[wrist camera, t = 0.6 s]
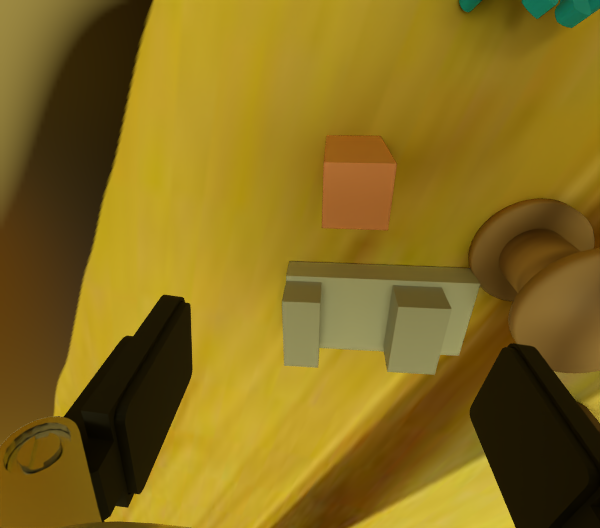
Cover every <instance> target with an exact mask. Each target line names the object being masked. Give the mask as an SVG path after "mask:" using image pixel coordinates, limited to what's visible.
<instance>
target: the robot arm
mask: <svg viewBox="0 0 600 528" xmlns="http://www.w3.org/2000/svg"><path fill="white" fill-rule="evenodd" d="M191 375H192V341H191V309H190V304H189V303H185V300H184V298H183V297H177V296H170V295H163V296H162V297H161V298H160V299H159V301H158V302H157V303H156V305H155V306H154V308H153V309H152V311H151V312H150V313H149V315H148V316H147V318H146V319H145V320H144V322H143V323H142V325H141V326H140V327H139V329H138V330H137V332H136V333H135V335H134V336H125V337H124V338H123V339H122V340H121V341H120V342H119V343H118V345H117V346H116V347H115V349H114V350H113V351H112V353H111V354H110V355H109V357H108V358H107V359H106V361H105V362H104V363H103V365H102V366H101V367H100V369H99V370H98V372H97V373H96V374H95V376H94V377H93V378H92V380H91V381H90V382H89V384H88V385H87V386H86V388H85V389H84V390H83V392H82V393H81V394H80V396H79V397H78V398H77V400H76V401H75V402H74V404H73V405H72V407H71V408H70V409H69V411H68V412H67V413H66V415H65V416H64V417H60V416H56V417H46V418H42V419H38V420H35V421H33V422H31V423H29V424H27V425H24V426H22V427H21V428H19V429H18V430H17V431H15V432H14V433H12V434H11V435H10V436H9V437H8V438H7V439H6V440H5V441H4V442H3V444H1V446H0V528H190V527H181V526H172V525H163V524H153V523H135V522H105V521H104V520H105V519H107V518H108V517H110V516H111V514H112V512H113V510H114V507H115V506H120V507H128V506H129V504H130V502H131V500H132V497H133V495H134V494H140V493H141V492H142V490H143V489H144V487H145V484H146V482H147V480H148V477H149V475H150V473H151V470H152V468H153V466H154V463H155V461H156V459H157V456H158V454H159V452H160V449H161V447H162V445H163V442H164V440H165V438H166V435H167V433H168V431H169V428H170V426H171V424H172V421H173V419H174V417H175V414H176V412H177V410H178V407H179V405H180V403H181V400H182V398H183V395H184V393H185V391H186V388H187V386H188V384H189V381H190V379H191ZM470 418H471V421H472V423H473V426H474V428H475V431H476V433H477V435H478V438H479V440H480V443H481V445H482V447H483V450H484V452H485V455H486V457H487V459H488V462H489V464H490V467H491V469H492V472H493V474H494V476H495V479H496V481H497V484H498V486H499V488H500V491H501V493H502V496H503V498H504V501H505V503H506V505H507V508H508V510H509V513H510V515H511V517H512V520H513V522H514V525H515V527H516V528H600V433H599V431H598V430H597V429H596V427H595V426H594V425H593V423H592V422H591V421H590V419H589V418H588V417H587V415H586V414H585V413H584V411H583V410H582V409H581V407H580V406H579V405H578V403H577V402H576V401H575V399H574V398H573V397H572V395H571V394H570V393H569V391H568V390H567V389H566V387H565V386H564V385H563V383H562V382H561V381H560V379H559V378H558V377H557V375H556V374H555V373H554V371H553V370H552V369H551V367H550V366H549V365H548V363H547V362H546V361H545V359H544V358H543V357H542V355H541V354H540V353H539V351H538V350H537V349H536V348H535V347H533V346H529V345H522V344H515V343H513V344H510V345H508V347H505V348H503V349H502V350H501V352H500V354H499V356H498V358H497V359H496V361H495V363H494V365H493V367H492V369H491V370H490V372H489V374H488V376H487V378H486V380H485V381H484V383H483V385H482V387H481V389H480V391H479V393H478V394H477V396H476V398H475V400H474V402H473V404H472V405H471V408H470Z"/></svg>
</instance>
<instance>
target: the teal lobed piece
mask: <svg viewBox="0 0 600 528" xmlns="http://www.w3.org/2000/svg"><path fill="white" fill-rule="evenodd" d="M481 1H482V0H459V3H460V6H461V8H462V9H463V10H464V11H465V12H470V11H472V10H473V9H474V8H475V7H476V6H477V5H478V4H479V3H480V2H481ZM557 3H558V0H522V4H523V5H524V7H525V8H526V9H527V10H528V11H529V12H530V13H531V14H532V15H533V16H534V17H535V18H536V19H538V18H540V17H541V16H542V15H543V14H545V13H546V12H547V11H549V10H550V9H551V8H552V7H554V6H555V5H556V4H557ZM598 9H600V0H560V4H559V5H558V6H557V7H556V9H555V17H556V20H557V22H558V23H560V24H561V25H563V26H566V27H569V28H572V27H574V26H575V25H577V24H578V23H580V22H581V21H583V20H584V19H586V18H587V17H588V16H590V15H591V14H593V13H594V12H595V11H597V10H598Z"/></svg>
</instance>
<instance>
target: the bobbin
mask: <svg viewBox="0 0 600 528" xmlns="http://www.w3.org/2000/svg"><path fill="white" fill-rule="evenodd" d="M593 248H594V232H593V229H592V226H591V225H590V223H589V221H588V220H587V219H586V218H585V216H583V215H582V214H581V213H580V212H578V211H577V210H575V209H573V208H572V207H570V206H568V205H567V204H565V203H562V202H560V201H556V200H552V199H531V200H526V201H522V202H518V203H515V204H513V205H510V206H508V207H506V208H504V209H502V210H501V211H499V212H497V213H496V214H495V215H493V216H492V217H491V218H489V219H488V220H487V221H486V222H485V223H484V224H483V225H482V227H481V228H480V229H479V230H478V232H477V233H476V235H475V237H474V239H473V241H472V243H471V246H470V250H469V266H470V269H471V270H472V272H473V273H474V275H475V276H476V278H477V279H478V281H479V282H480V286H481V287H482V288H483V289H484V290H485V291H486V292H487V293H489V294H490V295H492V296H494V297H496V298H499V299H502V300H507V301H513V303H512V305H511V309H510V312H509V328H510V332H511V334H512V336H513V338H514V340H515V342H516V343H517V344H522V345H529V346H533V347H535V348H536V349H537V350H538V351H539V353H540V354H541V355H542V357H543V358H544V359H545V361H546V362H547V363H548V365H549V366H550V367H551V369H552V370H553V371H556V372H563V373H587V372H594V371H599V370H600V248H595V249H593Z"/></svg>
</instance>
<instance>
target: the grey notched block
mask: <svg viewBox="0 0 600 528" xmlns="http://www.w3.org/2000/svg"><path fill="white" fill-rule="evenodd" d="M479 287H480V282H479V281H478V279H477V278H476V276H475V275H474V273H473V272H472V270H471V269H470V268H453V267H427V266H401V265H374V264H348V263H322V262H296V261H289V266H288V270H287V275H286V285H285V290H284V294H283V299H282V315H283V343H284V366H301V367H317V368H318V361H319V348H333V349H351V350H369V351H384V355H385V361H386V366H387V372H401V373H417V374H434V375H435V371H436V368H437V364H438V360H439V356H440V355H458V356H459V353H460V350H461V346H462V343H463V340H464V336H465V333H466V330H467V327H468V323H469V320H470V317H471V313H472V310H473V307H474V303H475V300H476V297H477V293H478V290H479Z"/></svg>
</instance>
